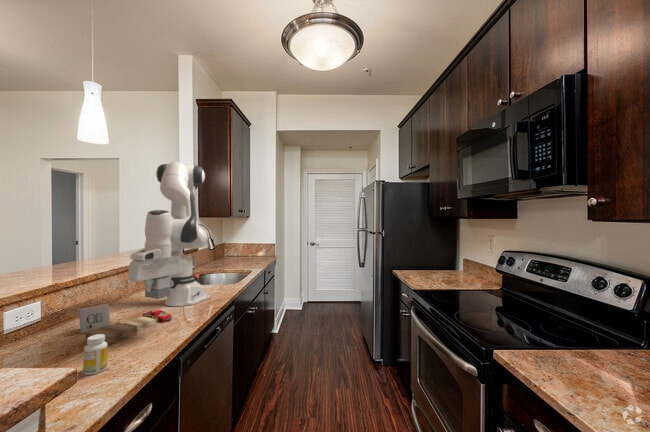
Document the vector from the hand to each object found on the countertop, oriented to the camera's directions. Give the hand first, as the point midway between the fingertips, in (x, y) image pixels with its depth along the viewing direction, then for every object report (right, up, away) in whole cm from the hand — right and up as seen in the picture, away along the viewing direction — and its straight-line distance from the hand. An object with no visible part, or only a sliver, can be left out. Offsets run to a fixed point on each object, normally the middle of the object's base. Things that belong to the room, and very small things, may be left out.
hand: (157, 289), depth 109 cm
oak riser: (-12, -17, +8) cm, 22 cm away
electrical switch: (-28, -17, +4) cm, 33 cm away
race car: (-9, -18, +16) cm, 25 cm away
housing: (0, -3, 0) cm, 3 cm away
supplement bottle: (-2, -17, -26) cm, 31 cm away
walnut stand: (-15, -17, -4) cm, 23 cm away
